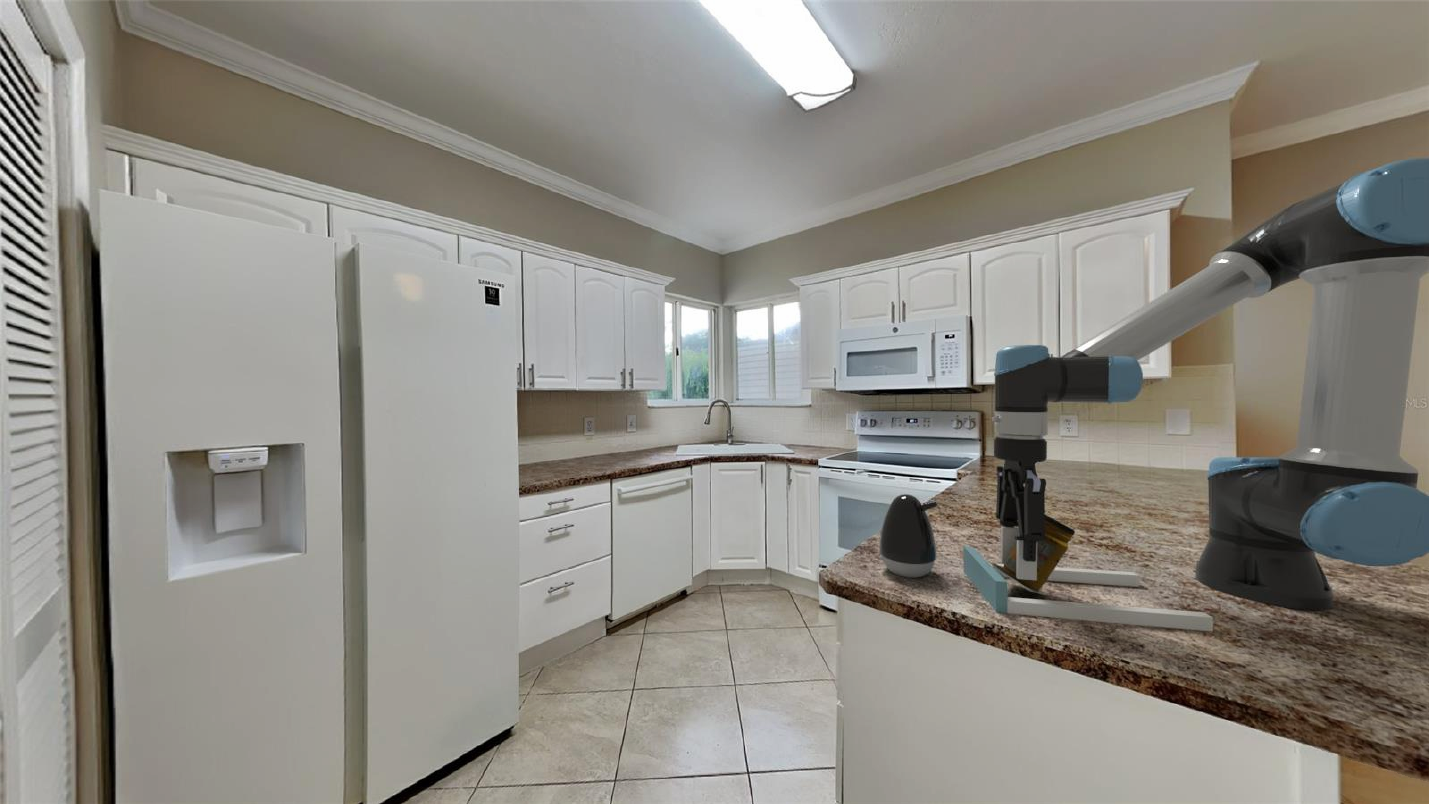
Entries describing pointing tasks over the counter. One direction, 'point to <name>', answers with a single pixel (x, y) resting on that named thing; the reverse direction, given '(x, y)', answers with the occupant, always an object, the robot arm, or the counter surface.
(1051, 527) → the condiment
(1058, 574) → the guide
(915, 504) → the pump dispenser
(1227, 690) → the counter surface
